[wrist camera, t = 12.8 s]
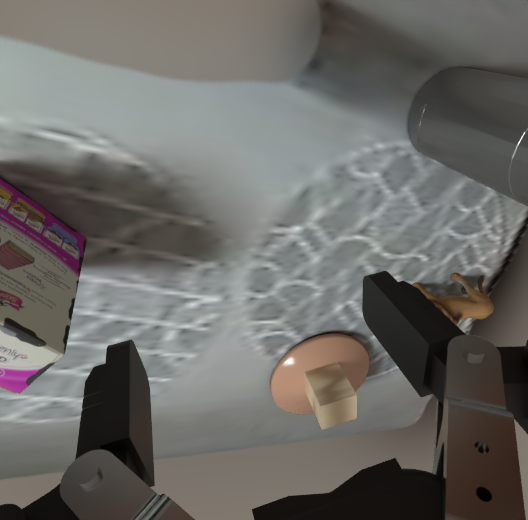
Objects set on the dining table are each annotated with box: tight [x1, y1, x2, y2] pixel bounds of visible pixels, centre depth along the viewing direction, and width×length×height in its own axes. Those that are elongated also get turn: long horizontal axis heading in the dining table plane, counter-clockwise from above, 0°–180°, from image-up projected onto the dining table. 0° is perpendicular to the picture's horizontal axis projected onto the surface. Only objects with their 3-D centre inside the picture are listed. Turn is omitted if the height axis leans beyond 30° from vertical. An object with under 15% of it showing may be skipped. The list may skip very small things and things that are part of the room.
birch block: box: [304, 362, 357, 430], centre depth 56 cm, size 5×5×6 cm
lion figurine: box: [413, 273, 494, 326], centre depth 54 cm, size 15×5×9 cm, turn 101°
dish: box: [270, 334, 370, 414], centre depth 59 cm, size 15×15×2 cm
